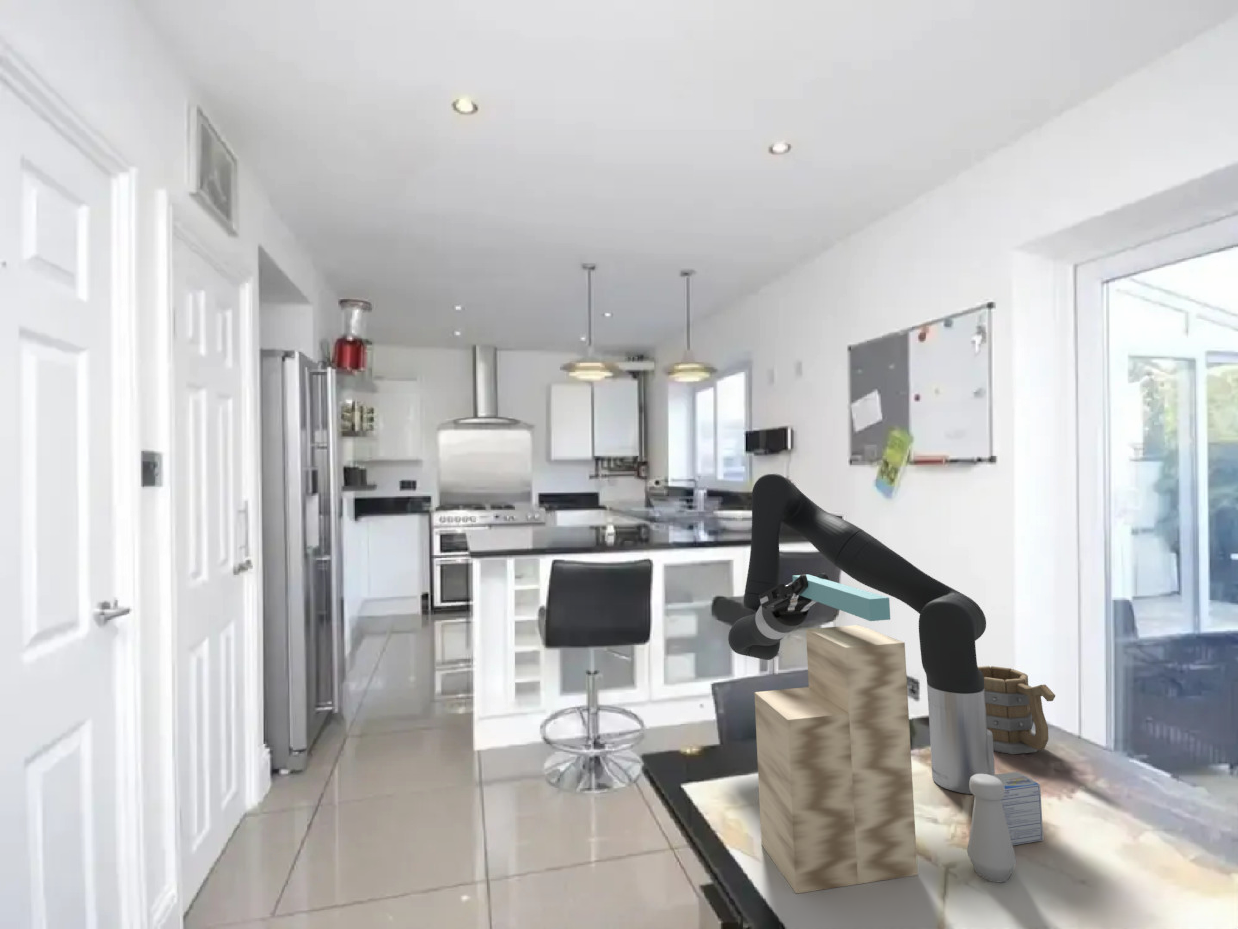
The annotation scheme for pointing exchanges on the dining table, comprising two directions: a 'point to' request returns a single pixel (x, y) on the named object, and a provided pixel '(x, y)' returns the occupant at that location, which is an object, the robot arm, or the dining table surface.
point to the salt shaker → (990, 830)
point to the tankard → (1014, 710)
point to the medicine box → (1022, 807)
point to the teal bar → (847, 598)
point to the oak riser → (839, 764)
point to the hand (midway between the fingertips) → (815, 579)
